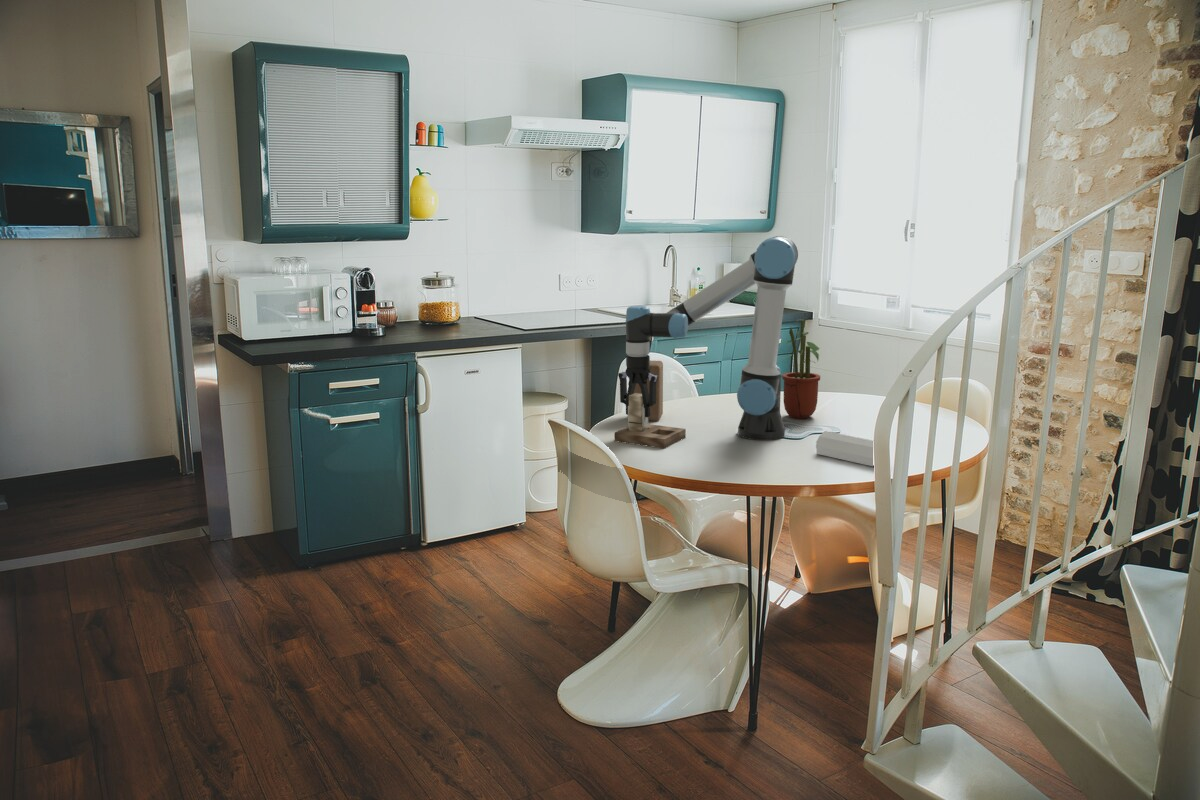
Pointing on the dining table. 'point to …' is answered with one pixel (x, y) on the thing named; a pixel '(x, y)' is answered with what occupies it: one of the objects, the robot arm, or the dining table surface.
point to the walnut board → (651, 436)
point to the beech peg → (636, 412)
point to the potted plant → (801, 380)
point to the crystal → (845, 447)
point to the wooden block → (656, 409)
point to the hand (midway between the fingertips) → (638, 425)
